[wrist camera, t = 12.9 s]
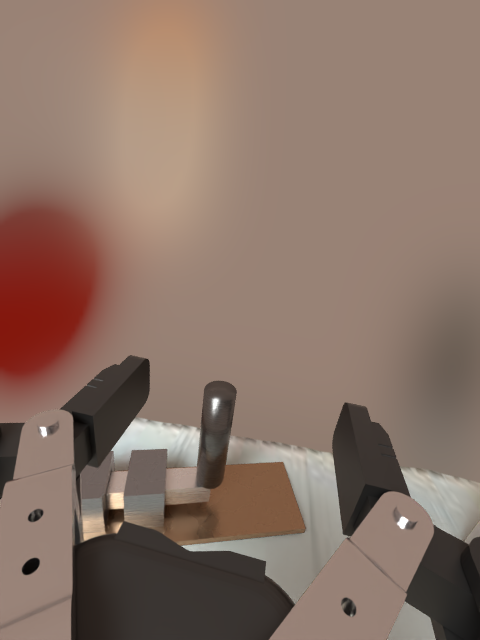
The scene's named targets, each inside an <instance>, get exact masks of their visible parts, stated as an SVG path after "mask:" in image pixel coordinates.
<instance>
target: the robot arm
mask: <svg viewBox="0 0 480 640" xmlns="http://www.w3.org/2000/svg"><path fill="white" fill-rule="evenodd" d="M149 387H150V365H149V360H148V359H145V358H140V357H136V356H132V355H130V356H128V357H127V358H126V359H125V360H124V361H123V362H122V363H121V364H120V365H116V364H115V365H112V366H110V367H108V368H106V369H104V370H102V371H101V372H100V373H99V374H98V375H97V376H96V377H95V378H94V380H91V381H90V382H89V383H88V384H87V386H85V387H84V388H83V389H82V390H80V391H79V392H78V393H77V394H76V395H75V396H74V397H73V398H72V399H70V400H69V401H68V402H67V403H66V404H65V405H64V406H63V407H62V408H61V409H60V410H58V409H57V410H48V411H45V412H41V413H39V414H37V415H35V416H33V417H32V418H30V419H29V420H28V421H27V422H26V423H0V499H1V498H2V501H1V505H0V640H386V639H387V637H388V635H389V633H390V631H391V629H392V627H393V625H394V622H395V620H396V618H397V616H398V614H399V612H400V610H401V608H402V606H403V603H404V601H406V602H407V603H409V604H410V605H412V606H413V607H415V608H416V609H418V610H419V611H421V612H423V613H424V614H426V615H427V616H429V617H430V618H431V622H432V626H433V630H434V633H435V637H436V640H480V520H479V522H478V523H477V524H476V526H475V527H474V528H473V530H472V531H471V532H470V534H469V535H468V537H467V538H466V539H465V541H464V542H463V541H461V540H459V539H458V538H456V537H454V536H452V535H450V534H448V533H446V532H444V531H442V530H441V529H439V528H437V527H436V526H435V525H433V523H432V520H431V518H430V516H429V515H428V513H427V512H426V511H425V510H424V508H423V507H422V506H421V505H420V504H419V503H417V502H416V501H415V500H414V499H412V498H411V497H410V494H409V491H408V488H407V485H406V483H405V480H404V477H403V474H402V472H401V469H400V466H399V463H398V461H397V459H396V455H395V452H394V449H392V444H391V441H390V438H389V435H388V434H387V433H386V431H385V430H384V429H383V428H382V427H381V425H380V424H379V423H375V422H371V420H370V417H369V413H368V410H367V408H366V407H365V406H360V405H356V404H351V403H344V405H343V408H342V411H341V413H340V417H339V419H338V422H337V425H336V428H335V431H334V435H333V443H332V444H333V445H332V446H333V447H332V448H333V457H334V465H335V473H336V481H337V489H338V497H339V505H340V513H341V521H342V529H343V534H344V535H347V536H351V537H350V538H348V537H347V538H346V539H345V540H344V541H343V543H342V544H341V545H340V547H339V548H338V549H337V550H336V552H335V553H334V554H333V556H332V557H331V558H330V560H329V561H328V562H327V564H326V565H325V566H324V568H323V569H322V570H321V572H320V573H319V574H318V576H317V577H316V578H315V579H314V581H313V582H312V583H311V585H310V586H309V587H308V589H307V590H306V591H305V593H304V594H303V595H302V597H301V598H300V599H299V601H298V602H297V603H296V605H295V604H294V602H293V601H292V600H291V598H290V597H289V596H288V594H287V593H286V592H285V591H284V590H283V589H282V588H281V587H280V586H279V585H278V584H276V583H275V582H274V581H273V580H272V579H270V578H269V577H267V576H266V575H265V566H266V561H263V560H259V559H256V558H252V557H249V556H245V555H242V554H238V553H234V552H231V551H199V552H193V551H188V550H186V549H185V548H183V547H182V546H180V545H179V544H177V543H175V542H174V541H172V540H171V539H169V538H168V537H166V536H165V535H163V534H162V533H160V532H159V531H157V530H154V529H150V528H147V527H143V526H140V525H136V524H132V523H129V522H125V521H123V523H122V525H121V527H120V529H119V531H118V532H117V533H111V534H105V535H100V536H97V537H93V538H91V539H88V540H85V541H84V535H83V519H82V491H81V474H80V473H81V472H82V470H83V469H84V468H85V466H86V465H88V466H92V467H96V468H99V466H100V465H101V463H102V462H103V461H104V459H105V458H106V457H107V455H108V454H109V452H110V451H111V450H112V448H113V447H114V446H115V444H116V443H117V441H118V440H119V439H120V437H121V436H122V435H123V433H124V432H125V430H126V429H127V428H128V426H129V425H130V424H131V422H132V421H133V419H134V418H135V417H136V415H137V414H138V413H139V411H140V410H141V408H142V407H143V406H144V404H145V403H146V401H147V398H148V395H149V389H150V388H149Z"/></svg>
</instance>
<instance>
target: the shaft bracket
mask: <svg viewBox="0 0 480 640" xmlns="http://www.w3.org/2000/svg"><path fill="white" fill-rule="evenodd" d="M182 468H191V467H182ZM166 469H172V468H167V449H155V450H132V453H131V458H130V463H129V468H128V470H127V471H128V474H127V479H126V484H125V489H124V495H123V502H124V508H122V509H109V510H107V509H106V498H105V493H106V489H107V485H108V481H109V477H110V473H111V472H117V471H115V466H114V451H110V452H109V454H108V455H107V457H106V458H105V459H104V461H103V462H102V463H101V465H100V466H99V468H96V467H92V466H88V465H86V466H85V468H84V469H83V470H82V472H81V473H80V474H81V491H82V519H83V535H84V541H85V540H88V539H91V538H93V537H97V536H100V535H105V534H111V533H117V532H118V531H119V529H120V527H121V525H122V523H123V521H125V522H129V523H132V524H136V525H140V526H143V527H147V528H150V529H154V530H157V531H159V532H160V533H162V534H163V535H165V536H166V537H168V538H169V539H171V540H172V541H174V542H175V543H177V544H179V545H180V546H182V545H192V544H201V543H211V542H220V541H230V540H239V539H249V538H258V537H267V536H277V535H286V534H296V533H304V532H305V529H306V528H305V525H304V522H303V519H302V516H301V513H300V510H299V508H298V505H297V502H296V499H295V496H294V493H293V490H292V487H291V484H290V481H289V478H288V475H287V472H286V469H285V467H284V464H283V462H274V463H256V464H237V465H226V466H225V473H224V479H223V482H222V484H221V485H220V486H218V487H217V488H214V489H210V497H209V502H198V503H186V504H173V505H165V482H166Z"/></svg>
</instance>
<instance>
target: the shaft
mask: <svg viewBox="0 0 480 640" xmlns="http://www.w3.org/2000/svg"><path fill="white" fill-rule="evenodd" d="M236 393H237V392H236V388H235V387H234V386H233V385H232V384H230V383H228V382H224V381H213V382H211V383H209V384H207V385H206V386H205V389H204V399H203V409H202V420H201V429H200V440H199V450H198V461H197V467H191V468H172V469H166V482H165V505H173V504H186V503H198V502H209V497H210V489H214V488H217V487H218V486H220V485H221V484H222V482H223V479H224V473H225V466H226V460H227V453H228V446H229V440H230V433H231V427H232V420H233V413H234V406H235V400H236ZM127 474H128V471H117V472H111V473H110V477H109V481H108V485H107V489H106V493H105V498H106V509H107V510H109V509H122V508H124V502H123V495H124V489H125V484H126V479H127Z"/></svg>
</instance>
